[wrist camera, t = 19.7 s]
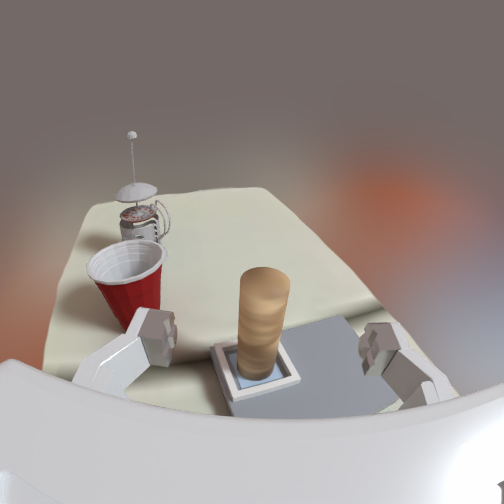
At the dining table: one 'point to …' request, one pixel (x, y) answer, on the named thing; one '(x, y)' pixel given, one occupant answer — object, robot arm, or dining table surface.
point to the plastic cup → (128, 276)
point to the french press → (139, 210)
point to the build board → (305, 377)
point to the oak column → (260, 320)
